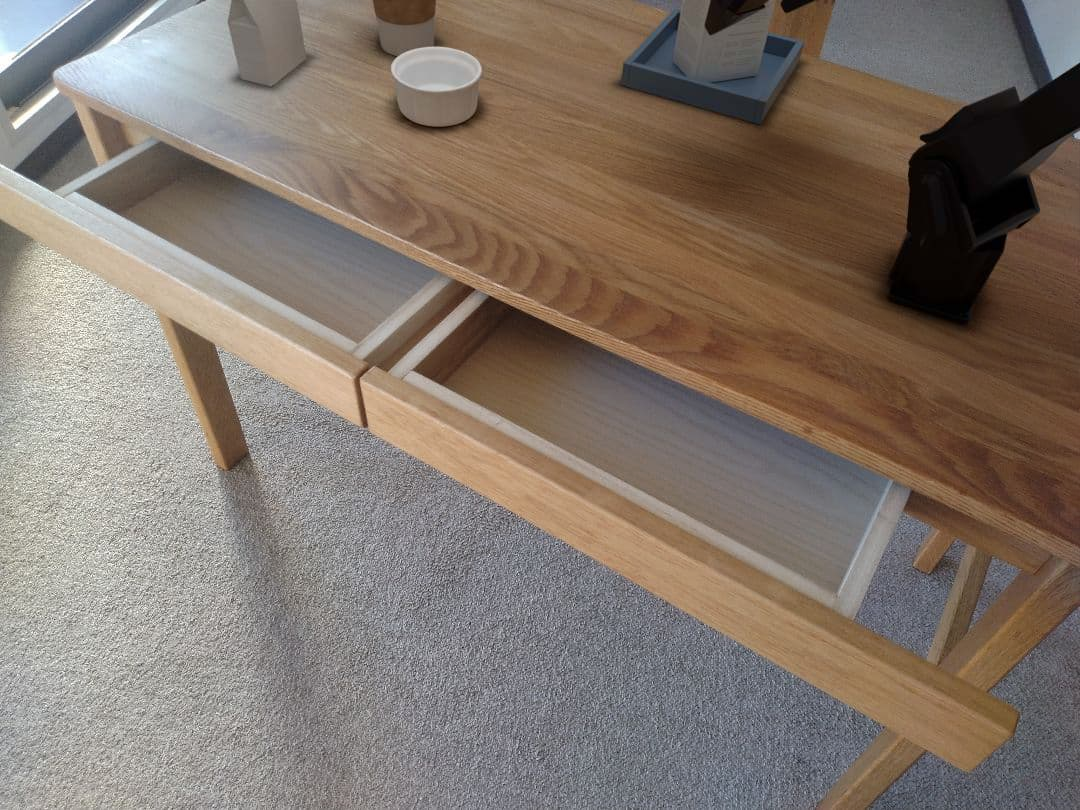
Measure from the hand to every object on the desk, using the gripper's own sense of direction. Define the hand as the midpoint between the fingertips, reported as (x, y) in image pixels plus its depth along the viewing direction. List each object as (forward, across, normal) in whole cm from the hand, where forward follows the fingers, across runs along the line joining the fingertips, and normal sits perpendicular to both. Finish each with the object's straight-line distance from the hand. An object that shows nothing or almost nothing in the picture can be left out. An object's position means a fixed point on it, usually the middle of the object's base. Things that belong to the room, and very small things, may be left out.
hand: (746, 19), depth 74 cm
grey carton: (+28, +32, -24) cm, 49 cm away
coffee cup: (+27, +18, -22) cm, 39 cm away
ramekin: (+20, +21, -10) cm, 31 cm away
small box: (+16, -9, -3) cm, 18 cm away
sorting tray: (+16, -9, -3) cm, 18 cm away
